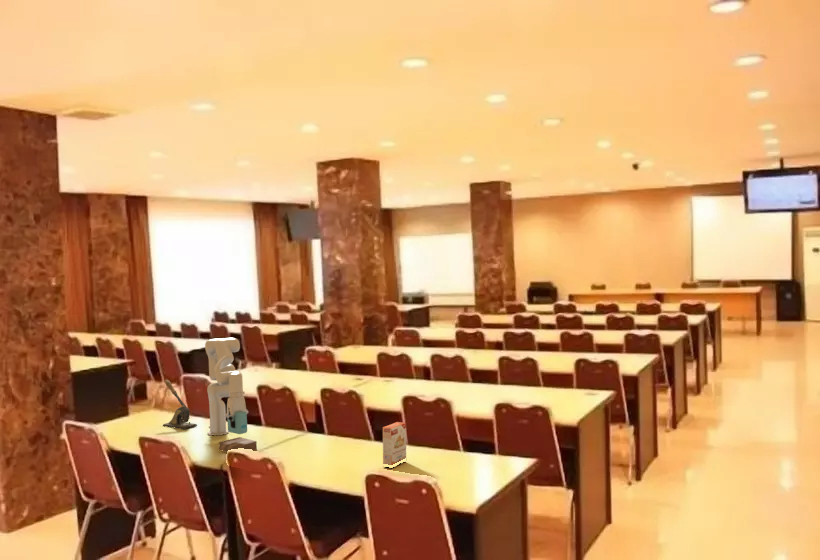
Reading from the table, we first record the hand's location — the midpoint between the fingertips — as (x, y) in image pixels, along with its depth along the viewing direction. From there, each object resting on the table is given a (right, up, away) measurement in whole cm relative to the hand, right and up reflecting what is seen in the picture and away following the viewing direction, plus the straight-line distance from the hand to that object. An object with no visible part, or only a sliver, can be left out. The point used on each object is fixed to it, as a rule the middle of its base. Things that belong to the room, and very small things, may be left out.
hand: (237, 426), depth 406 cm
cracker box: (+90, -13, -37) cm, 98 cm away
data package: (0, -4, 0) cm, 4 cm away
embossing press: (-53, -13, +62) cm, 82 cm away
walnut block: (0, -14, +1) cm, 14 cm away
